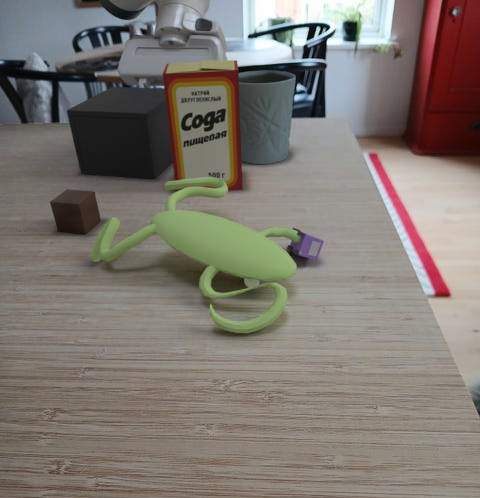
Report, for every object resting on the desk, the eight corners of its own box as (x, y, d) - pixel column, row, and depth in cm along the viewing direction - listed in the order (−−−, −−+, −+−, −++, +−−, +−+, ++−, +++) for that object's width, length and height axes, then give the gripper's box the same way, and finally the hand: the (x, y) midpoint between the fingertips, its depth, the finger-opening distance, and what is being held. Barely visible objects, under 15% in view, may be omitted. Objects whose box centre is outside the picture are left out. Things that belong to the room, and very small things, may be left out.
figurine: (193, 203, 70) (189, 162, 67) (362, 266, 55) (368, 218, 52) (77, 254, 60) (65, 209, 56) (246, 350, 45) (243, 297, 41)
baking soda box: (176, 192, 73) (162, 70, 64) (179, 175, 79) (166, 60, 69) (242, 189, 73) (238, 66, 64) (240, 172, 79) (236, 57, 69)
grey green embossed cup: (227, 165, 81) (223, 83, 74) (237, 144, 89) (234, 69, 82) (291, 166, 80) (293, 83, 73) (295, 145, 88) (297, 68, 81)
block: (57, 231, 65) (49, 201, 62) (73, 217, 68) (66, 189, 65) (85, 234, 64) (78, 204, 61) (101, 220, 67) (94, 191, 64)
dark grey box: (121, 144, 92) (111, 86, 86) (187, 148, 89) (182, 88, 83) (80, 173, 81) (66, 110, 75) (154, 179, 78) (145, 113, 72)
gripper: (120, 23, 94) (105, 93, 92) (227, 23, 89) (213, 96, 87) (134, 46, 100) (120, 112, 98) (235, 47, 95) (222, 116, 93)
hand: (165, 105), depth 93 cm, fingers closed on basket, 6 cm apart
